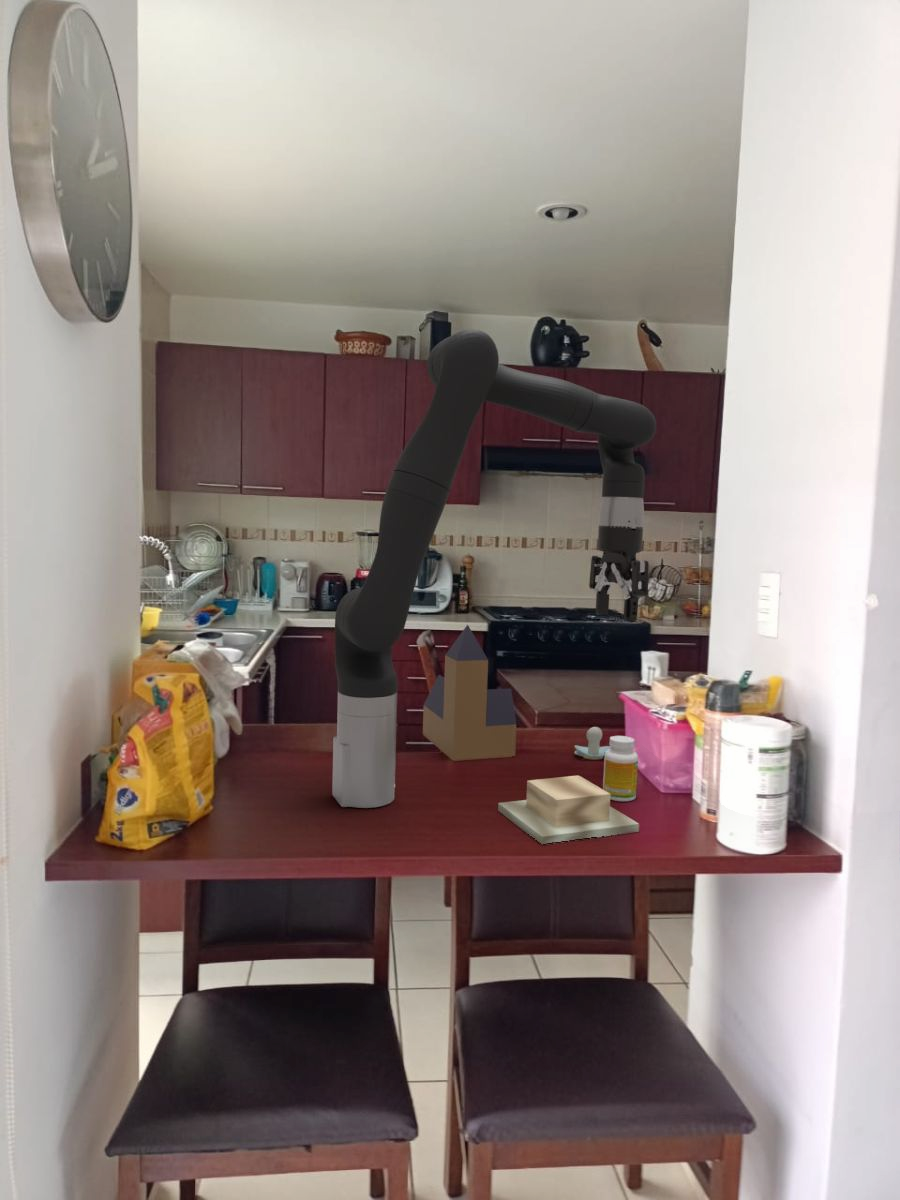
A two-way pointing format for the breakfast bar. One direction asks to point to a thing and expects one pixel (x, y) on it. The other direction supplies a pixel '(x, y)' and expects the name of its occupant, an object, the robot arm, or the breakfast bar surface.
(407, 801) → the breakfast bar surface
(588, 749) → the pacifier
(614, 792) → the supplement bottle
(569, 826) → the pedestal base
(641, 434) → the robot arm
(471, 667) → the toy building blocks
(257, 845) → the breakfast bar surface
